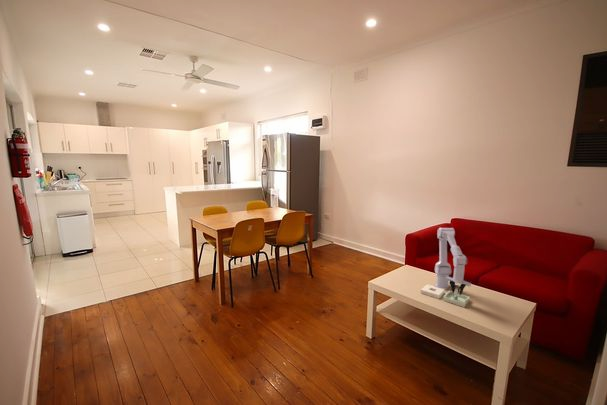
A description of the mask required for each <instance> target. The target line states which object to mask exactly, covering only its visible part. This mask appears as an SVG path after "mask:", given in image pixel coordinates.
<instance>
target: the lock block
mask: <svg viewBox="0 0 607 405" xmlns="http://www.w3.org/2000/svg"><path fill="white" fill-rule="evenodd" d="M445 292H446V289H442V288H439V287H435V286H434V285H431V284H426V285H424V286H423V287H422V288H420V294H423V295H425V296H429V297H432V298H436V299H438V300H439V299H440V298H441V297H443V296H444V295H445Z"/></svg>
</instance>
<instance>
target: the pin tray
mask: <svg viewBox="0 0 607 405" xmlns="http://www.w3.org/2000/svg"><path fill="white" fill-rule="evenodd" d="M470 298H471V297H470V296H469V295H466V294H463V293H462V294H461V295H460V293H459V295H458V299H454V298H453V293H452V290H448V291H447V292H446V293H444V294H443V296H442V301H443V302H447V303H450V304H453V305H456V306H460V307H461V308H465V307H466V306H467V304H468V303H469V302H470Z"/></svg>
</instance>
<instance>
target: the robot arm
mask: <svg viewBox="0 0 607 405" xmlns="http://www.w3.org/2000/svg"><path fill="white" fill-rule="evenodd" d="M436 235H437V239H438V242H439V243H438V245H439V246H438V247H439V252H438V253H439V256H438V258H439V260H438V261H437V262H436V263H435V264H434V265H435V266H434V272H435V274H436V282H435V284H434V285H433V286H435V287H438V288H441V289H445V290H447V289H448V288H449V287H450V288H451V291H452V293H454V288H455V287H454V285H456V284H459V286H460V290H459V294H460V295H461V294H462V295H463V291H464V289H465V287H466V286H468V287H470V288H471V285H472V283H471V282H469V281H466V280H464V276H465V265H466V266H467V264H468V258H467V256H466V255H465V254H463V252H462V250H461V248H460V246H459V245H457V241H456V239H455V235H456V231H455V229H454V227H439V228H438V229H437V233H436ZM448 244H449V246H450V252H451V254H452V256H453V258H452V261H453V266H454V268H453V276H452V277H451V276H450V275H451V274H452V268H451V264H450V263H449V262H448Z"/></svg>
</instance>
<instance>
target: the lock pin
mask: <svg viewBox="0 0 607 405" xmlns="http://www.w3.org/2000/svg"><path fill="white" fill-rule="evenodd" d="M454 287H455V288H454V293H453V298H454V299H458V295H459V294H460V284H459V285H458V284H455V285H454Z"/></svg>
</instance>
